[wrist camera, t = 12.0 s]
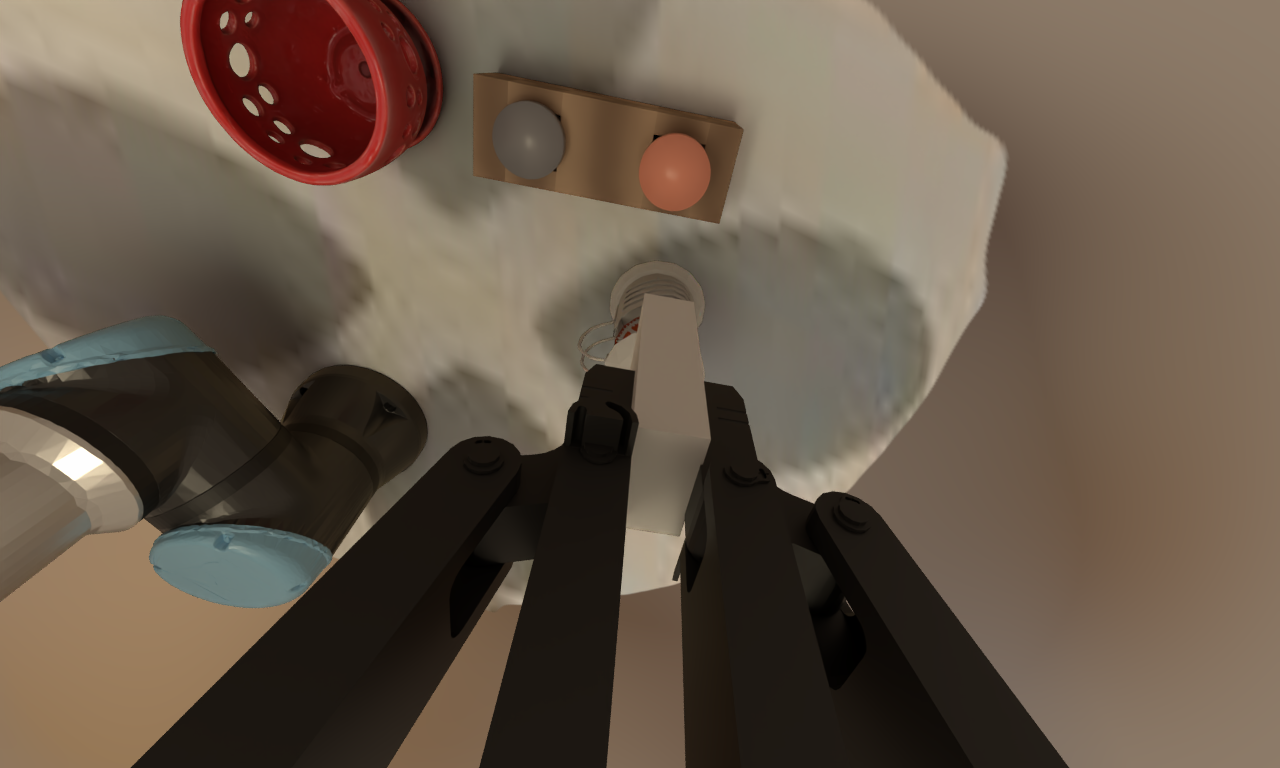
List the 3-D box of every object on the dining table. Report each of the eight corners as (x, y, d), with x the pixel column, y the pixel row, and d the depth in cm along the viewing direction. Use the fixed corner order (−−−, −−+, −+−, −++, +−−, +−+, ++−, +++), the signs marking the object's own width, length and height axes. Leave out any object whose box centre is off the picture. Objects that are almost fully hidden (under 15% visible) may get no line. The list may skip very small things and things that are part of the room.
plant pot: (310, -67, 37) (178, -115, 27) (477, 40, 40) (414, 32, 30) (282, 107, 44) (166, 120, 34) (429, 188, 47) (362, 223, 37)
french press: (705, 348, 54) (728, 528, 33) (597, 351, 55) (553, 529, 34) (705, 258, 49) (733, 403, 28) (586, 263, 50) (526, 409, 29)
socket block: (495, 163, 45) (473, 175, 40) (497, 72, 42) (473, 73, 36) (713, 206, 46) (719, 223, 41) (734, 121, 43) (743, 129, 38)
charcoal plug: (515, 157, 45) (491, 172, 38) (518, 90, 42) (493, 94, 36) (574, 168, 45) (559, 185, 39) (581, 102, 42) (566, 109, 36)
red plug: (638, 184, 44) (633, 203, 38) (649, 118, 41) (645, 127, 35) (696, 196, 44) (701, 217, 38) (711, 131, 42) (718, 142, 36)
